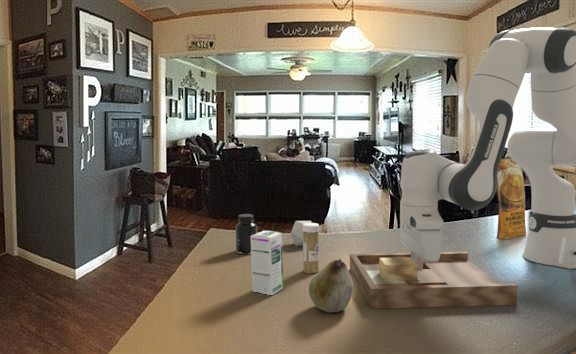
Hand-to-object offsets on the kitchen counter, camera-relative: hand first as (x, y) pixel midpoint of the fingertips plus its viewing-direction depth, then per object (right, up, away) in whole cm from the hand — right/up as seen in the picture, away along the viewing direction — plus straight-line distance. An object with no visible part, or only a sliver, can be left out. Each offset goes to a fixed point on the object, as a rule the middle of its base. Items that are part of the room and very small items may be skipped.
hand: (417, 269), depth 113 cm
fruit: (-23, -6, -13) cm, 27 cm away
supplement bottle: (-46, -1, +33) cm, 56 cm away
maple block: (-5, -2, 0) cm, 5 cm away
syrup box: (-38, -5, -2) cm, 38 cm away
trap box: (+2, -4, +1) cm, 5 cm away
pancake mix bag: (+48, +2, +50) cm, 69 cm away
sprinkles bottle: (-26, -3, +13) cm, 29 cm away
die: (-27, 0, +40) cm, 49 cm away
